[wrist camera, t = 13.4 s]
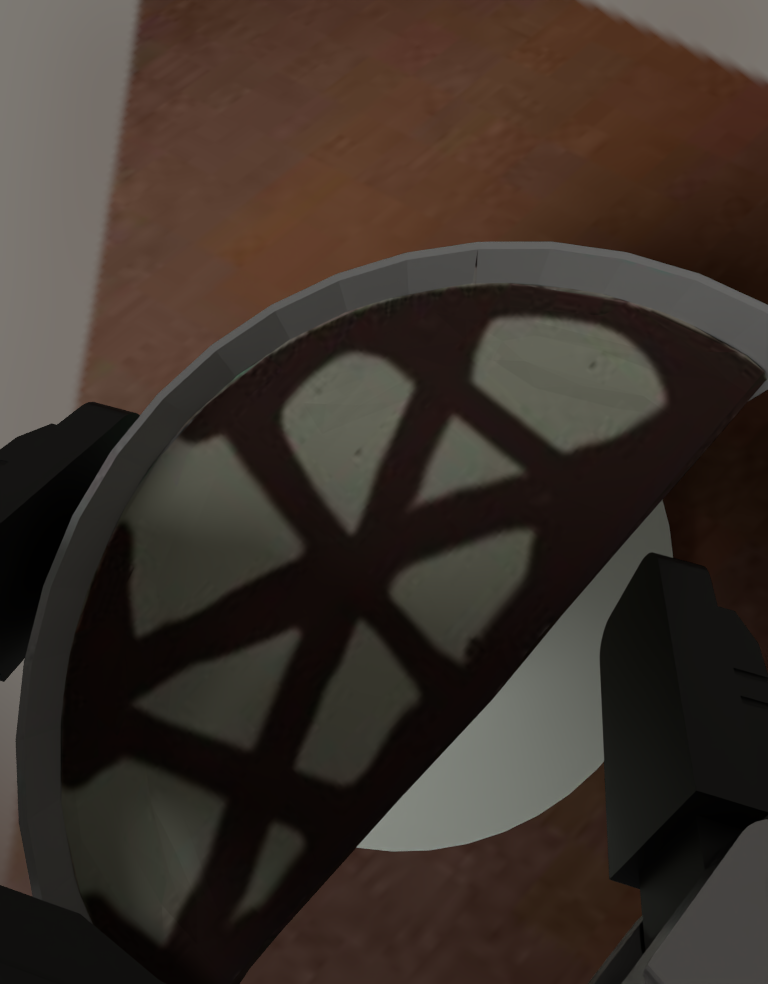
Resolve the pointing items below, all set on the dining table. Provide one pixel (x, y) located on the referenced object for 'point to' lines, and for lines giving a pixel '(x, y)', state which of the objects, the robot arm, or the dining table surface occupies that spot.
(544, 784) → the serving plate
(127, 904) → the food container
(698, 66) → the dining table surface
